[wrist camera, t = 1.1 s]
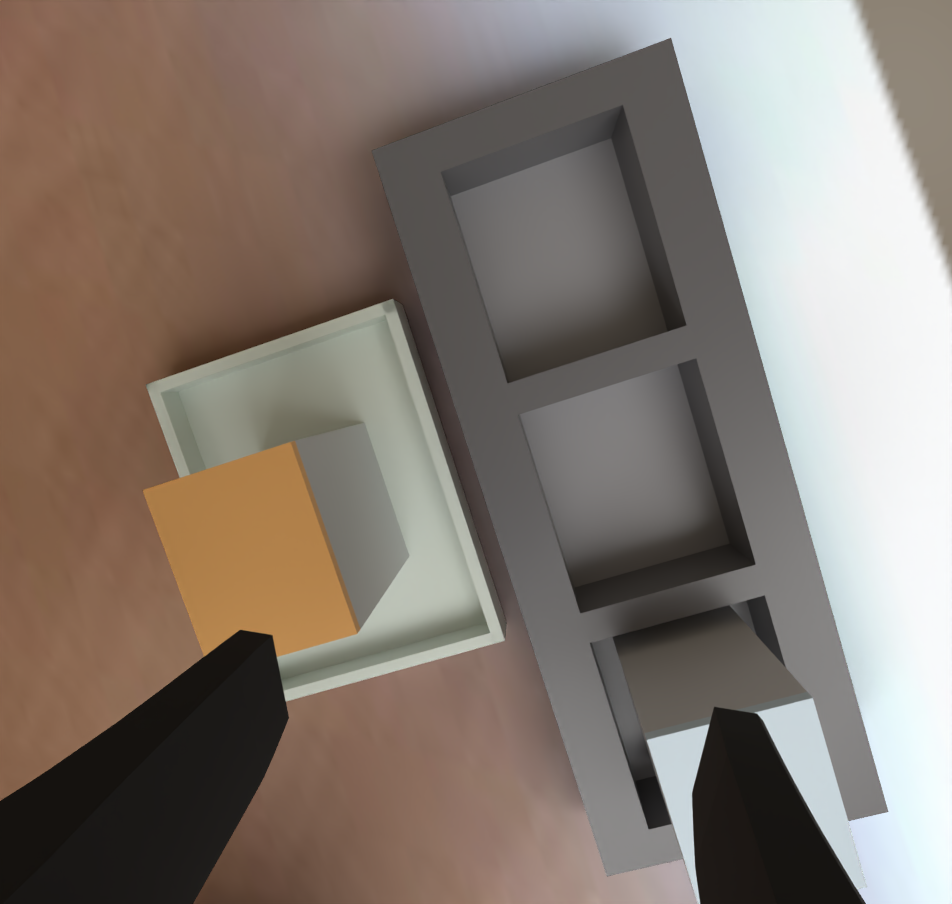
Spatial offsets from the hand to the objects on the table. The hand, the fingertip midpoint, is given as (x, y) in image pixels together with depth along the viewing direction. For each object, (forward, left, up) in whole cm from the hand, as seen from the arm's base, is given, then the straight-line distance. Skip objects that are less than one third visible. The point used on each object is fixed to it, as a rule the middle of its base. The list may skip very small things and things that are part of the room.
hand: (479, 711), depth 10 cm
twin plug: (+5, -7, -12) cm, 14 cm away
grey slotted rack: (+5, +1, -12) cm, 13 cm away
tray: (-5, +3, -12) cm, 14 cm away
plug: (-5, +3, -12) cm, 13 cm away
